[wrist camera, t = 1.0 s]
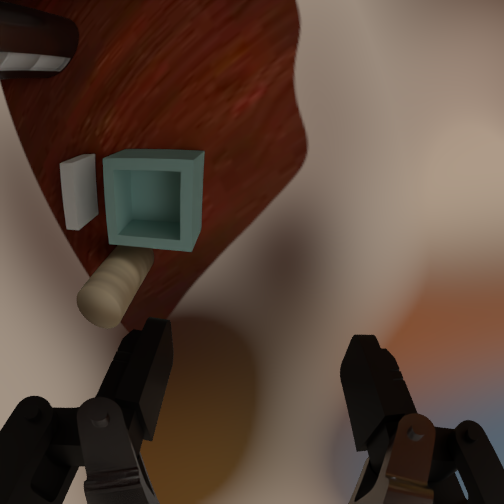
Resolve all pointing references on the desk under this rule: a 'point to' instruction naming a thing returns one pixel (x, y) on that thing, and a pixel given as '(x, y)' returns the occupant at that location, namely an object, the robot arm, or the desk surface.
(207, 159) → the desk surface
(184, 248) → the grey-green open box
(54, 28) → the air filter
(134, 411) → the robot arm
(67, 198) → the grey flat slab
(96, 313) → the dowel
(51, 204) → the desk surface
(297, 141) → the desk surface
